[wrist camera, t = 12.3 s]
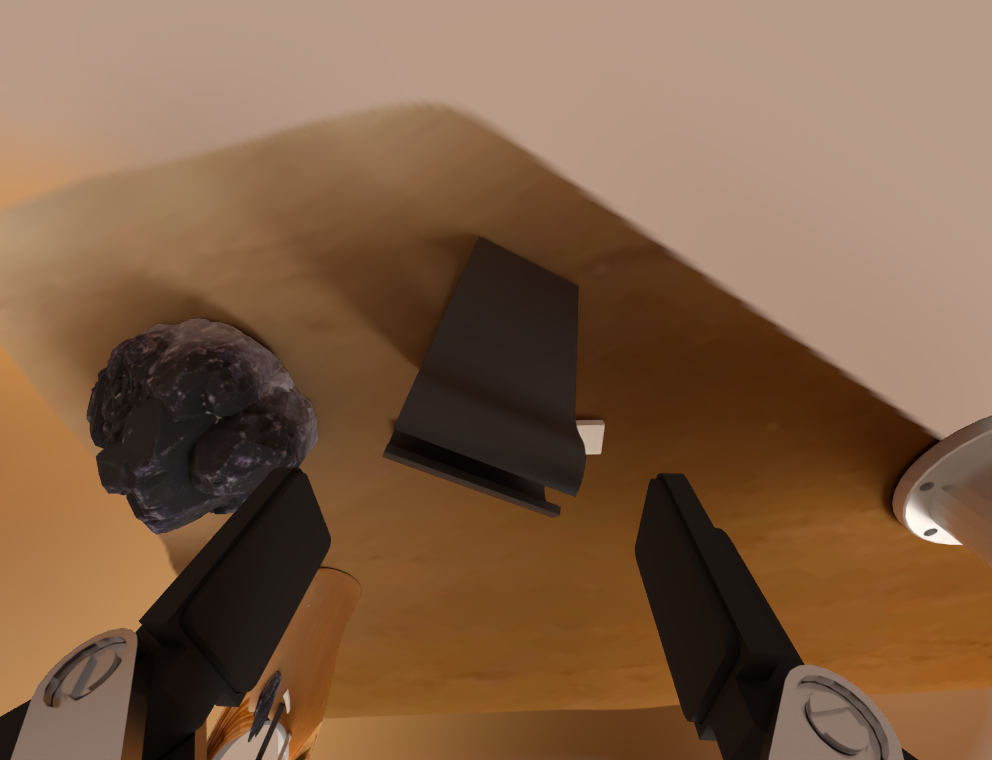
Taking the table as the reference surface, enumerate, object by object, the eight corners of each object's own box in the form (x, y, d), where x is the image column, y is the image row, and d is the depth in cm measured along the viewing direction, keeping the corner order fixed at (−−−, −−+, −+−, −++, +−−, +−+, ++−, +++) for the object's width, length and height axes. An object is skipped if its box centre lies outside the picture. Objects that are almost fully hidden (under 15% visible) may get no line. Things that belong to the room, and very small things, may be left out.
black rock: (146, 440, 27) (2, 573, 19) (94, 274, 20) (-177, 376, 12) (329, 474, 30) (270, 604, 22) (342, 338, 23) (261, 457, 14)
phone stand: (479, 234, 19) (445, 302, 8) (578, 284, 20) (657, 400, 9) (421, 370, 23) (349, 531, 12) (505, 405, 24) (505, 581, 13)
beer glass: (381, 588, 34) (304, 838, 21) (339, 614, 37) (248, 852, 24) (320, 554, 32) (191, 811, 19) (280, 584, 35) (141, 830, 21)
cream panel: (602, 419, 24) (604, 425, 24) (598, 448, 25) (600, 454, 25) (398, 422, 25) (396, 428, 24) (404, 451, 26) (402, 456, 25)
